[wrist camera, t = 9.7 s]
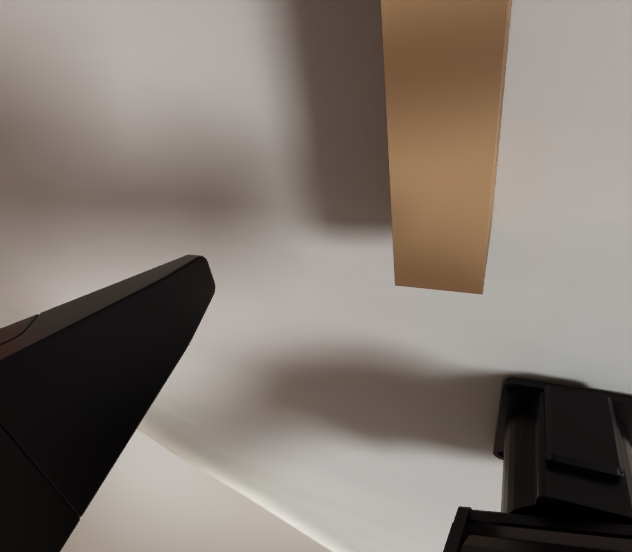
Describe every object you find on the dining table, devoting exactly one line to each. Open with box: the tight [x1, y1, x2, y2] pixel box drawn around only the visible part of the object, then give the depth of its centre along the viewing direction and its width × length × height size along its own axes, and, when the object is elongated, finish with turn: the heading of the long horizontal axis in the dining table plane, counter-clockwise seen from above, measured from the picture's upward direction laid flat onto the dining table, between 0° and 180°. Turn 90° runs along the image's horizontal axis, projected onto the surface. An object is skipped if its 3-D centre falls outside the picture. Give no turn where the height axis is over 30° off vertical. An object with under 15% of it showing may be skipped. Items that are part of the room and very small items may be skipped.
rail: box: [381, 0, 512, 294], centre depth 13 cm, size 14×3×5 cm, turn 9°
